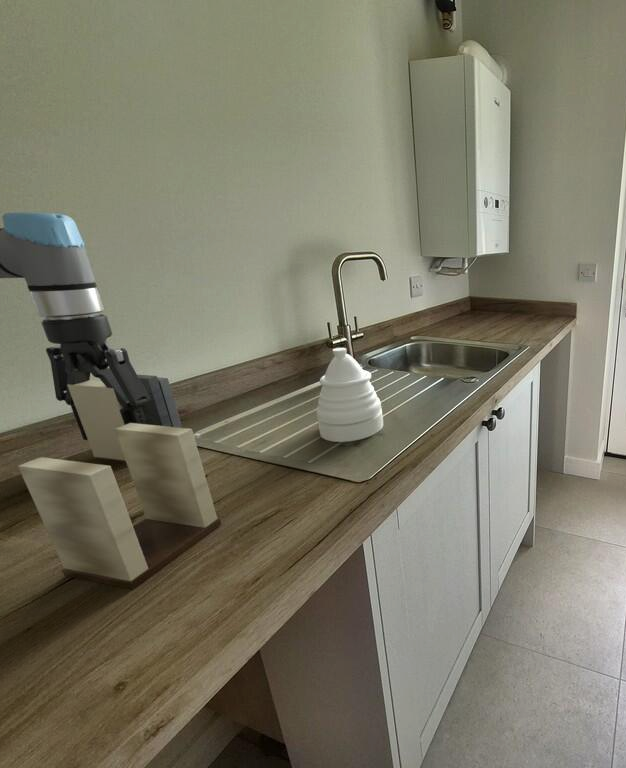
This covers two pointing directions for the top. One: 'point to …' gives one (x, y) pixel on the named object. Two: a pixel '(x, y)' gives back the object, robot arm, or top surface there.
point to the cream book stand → (108, 512)
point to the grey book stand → (158, 404)
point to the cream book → (99, 417)
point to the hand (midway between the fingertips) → (117, 439)
